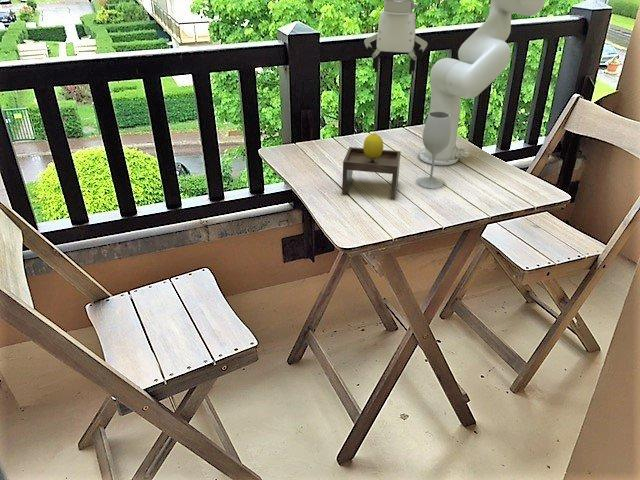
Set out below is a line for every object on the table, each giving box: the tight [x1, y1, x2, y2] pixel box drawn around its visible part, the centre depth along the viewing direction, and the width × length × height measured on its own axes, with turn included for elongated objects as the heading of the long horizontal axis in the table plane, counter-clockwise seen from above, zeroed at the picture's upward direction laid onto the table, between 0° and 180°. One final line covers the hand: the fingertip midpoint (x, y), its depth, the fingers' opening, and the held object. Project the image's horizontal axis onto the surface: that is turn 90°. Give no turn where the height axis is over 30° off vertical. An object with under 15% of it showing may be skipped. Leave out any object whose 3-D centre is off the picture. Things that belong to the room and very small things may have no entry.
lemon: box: [362, 132, 384, 160], centre depth 147 cm, size 6×6×8 cm
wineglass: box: [417, 111, 451, 190], centre depth 152 cm, size 8×8×21 cm
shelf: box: [341, 146, 402, 201], centre depth 151 cm, size 15×11×10 cm
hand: (393, 72), depth 149 cm, fingers open, 9 cm apart
